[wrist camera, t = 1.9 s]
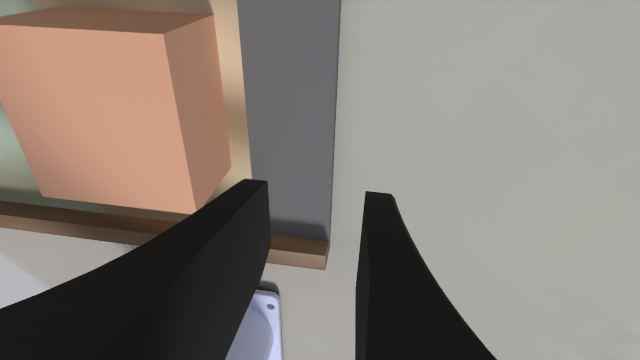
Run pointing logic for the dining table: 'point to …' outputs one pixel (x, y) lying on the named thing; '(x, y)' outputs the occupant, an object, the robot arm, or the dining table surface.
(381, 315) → the robot arm
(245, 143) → the dark brown flat frame
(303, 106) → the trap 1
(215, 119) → the block
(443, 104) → the dining table surface
